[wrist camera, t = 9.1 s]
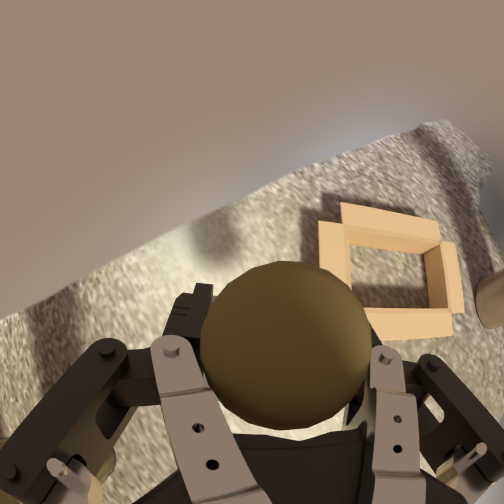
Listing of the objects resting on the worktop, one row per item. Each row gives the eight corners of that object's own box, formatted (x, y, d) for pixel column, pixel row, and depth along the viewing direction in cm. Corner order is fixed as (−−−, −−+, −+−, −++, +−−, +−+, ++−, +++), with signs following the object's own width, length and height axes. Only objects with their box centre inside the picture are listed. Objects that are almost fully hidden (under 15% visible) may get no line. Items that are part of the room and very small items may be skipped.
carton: (435, 235, 37) (450, 225, 33) (447, 337, 31) (465, 333, 27) (308, 214, 35) (317, 198, 32) (307, 343, 29) (319, 341, 25)
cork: (211, 404, 15) (198, 475, 5) (198, 311, 17) (168, 239, 7) (305, 389, 16) (415, 416, 6) (290, 300, 18) (375, 223, 8)
